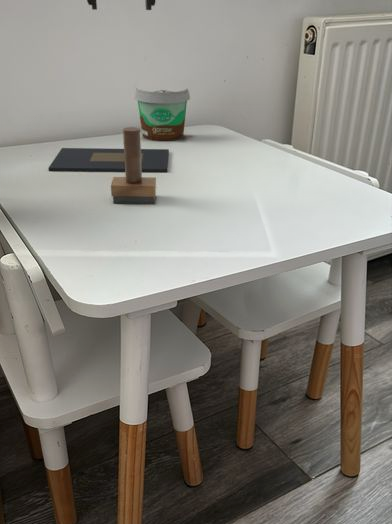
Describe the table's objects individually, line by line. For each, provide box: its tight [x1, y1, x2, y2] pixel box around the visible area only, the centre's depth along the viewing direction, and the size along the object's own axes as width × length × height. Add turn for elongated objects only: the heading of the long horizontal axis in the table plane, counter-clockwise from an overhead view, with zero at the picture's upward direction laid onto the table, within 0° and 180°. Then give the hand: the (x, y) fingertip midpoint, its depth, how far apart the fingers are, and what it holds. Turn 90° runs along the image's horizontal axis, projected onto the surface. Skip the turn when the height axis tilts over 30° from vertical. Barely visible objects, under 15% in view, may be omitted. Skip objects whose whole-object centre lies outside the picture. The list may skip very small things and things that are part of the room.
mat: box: [47, 147, 170, 173], centre depth 109 cm, size 22×14×1 cm, turn 91°
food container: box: [133, 87, 191, 142], centre depth 122 cm, size 12×6×10 cm, turn 104°
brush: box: [110, 126, 157, 205], centre depth 88 cm, size 7×4×11 cm, turn 91°
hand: (121, 9), depth 88 cm, fingers open, 8 cm apart
